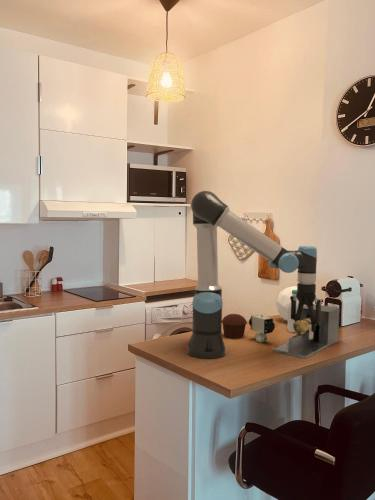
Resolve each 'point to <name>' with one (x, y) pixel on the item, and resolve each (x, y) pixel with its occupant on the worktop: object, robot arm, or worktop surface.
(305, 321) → the golden cylinder
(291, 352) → the housing
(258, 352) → the worktop surface
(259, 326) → the pneumatic valve
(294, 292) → the milk bottle
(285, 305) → the ball
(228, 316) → the muffin
